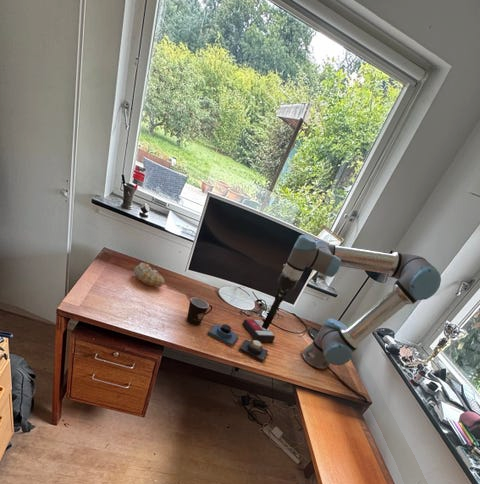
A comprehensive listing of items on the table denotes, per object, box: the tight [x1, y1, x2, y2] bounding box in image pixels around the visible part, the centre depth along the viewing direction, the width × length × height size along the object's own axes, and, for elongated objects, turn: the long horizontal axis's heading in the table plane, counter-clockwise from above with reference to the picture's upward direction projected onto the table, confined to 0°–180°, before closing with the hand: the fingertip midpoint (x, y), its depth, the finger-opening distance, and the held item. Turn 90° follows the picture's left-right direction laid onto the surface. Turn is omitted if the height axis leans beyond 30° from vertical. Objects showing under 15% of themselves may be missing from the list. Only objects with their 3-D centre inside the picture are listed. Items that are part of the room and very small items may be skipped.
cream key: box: [252, 339, 263, 349], centre depth 158 cm, size 4×4×2 cm
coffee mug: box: [186, 297, 213, 326], centre depth 157 cm, size 12×9×10 cm
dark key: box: [221, 323, 232, 333], centre depth 158 cm, size 4×4×2 cm
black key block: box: [238, 339, 269, 363], centre depth 159 cm, size 12×10×4 cm
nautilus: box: [133, 261, 166, 288], centre depth 169 cm, size 8×22×15 cm
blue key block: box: [207, 323, 239, 347], centre depth 159 cm, size 12×10×4 cm
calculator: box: [242, 318, 276, 343], centre depth 174 cm, size 11×4×15 cm
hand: (266, 325), depth 151 cm, fingers open, 6 cm apart
